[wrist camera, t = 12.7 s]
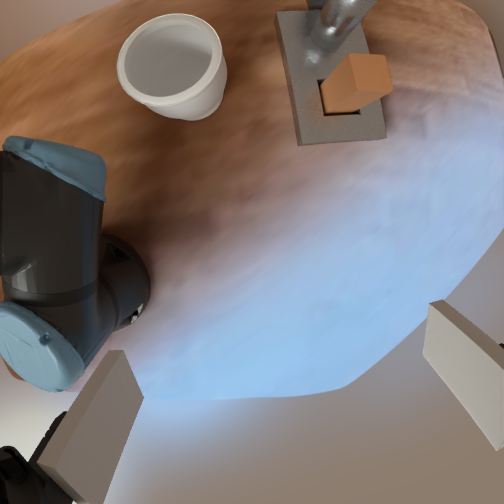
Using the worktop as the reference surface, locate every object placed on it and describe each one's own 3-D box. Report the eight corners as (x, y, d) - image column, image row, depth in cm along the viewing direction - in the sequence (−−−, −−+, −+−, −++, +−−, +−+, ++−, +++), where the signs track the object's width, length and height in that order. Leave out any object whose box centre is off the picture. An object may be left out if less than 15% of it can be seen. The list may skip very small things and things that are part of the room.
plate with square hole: (297, 146, 39) (333, 128, 22) (271, 9, 33) (282, -64, 16) (376, 140, 39) (449, 127, 21) (346, 9, 33) (389, -52, 16)
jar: (143, 98, 37) (97, 69, 22) (193, 48, 35) (169, -3, 21) (195, 143, 39) (166, 128, 24) (247, 90, 37) (246, 49, 23)
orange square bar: (320, 116, 38) (357, 90, 24) (316, 90, 37) (348, 53, 23) (347, 115, 38) (393, 91, 24) (342, 89, 37) (385, 55, 22)
